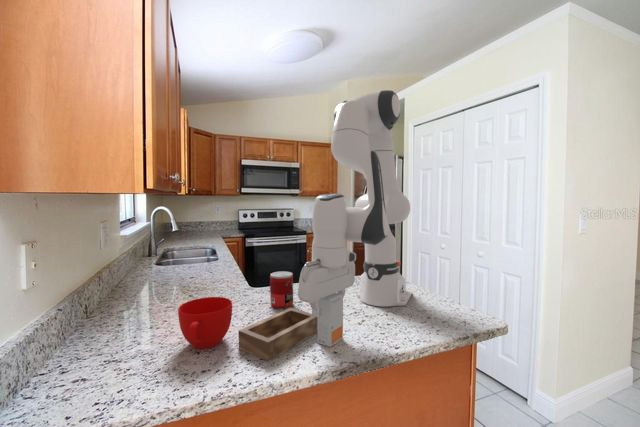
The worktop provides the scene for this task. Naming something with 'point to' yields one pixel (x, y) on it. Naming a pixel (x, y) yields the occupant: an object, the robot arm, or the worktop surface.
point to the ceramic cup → (205, 321)
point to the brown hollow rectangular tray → (277, 333)
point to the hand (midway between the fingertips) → (328, 310)
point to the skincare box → (330, 320)
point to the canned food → (281, 289)
